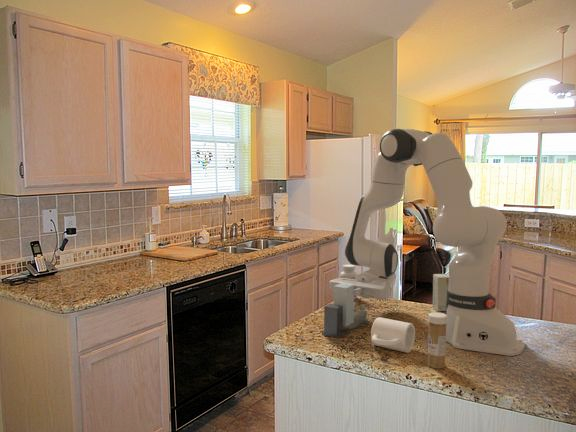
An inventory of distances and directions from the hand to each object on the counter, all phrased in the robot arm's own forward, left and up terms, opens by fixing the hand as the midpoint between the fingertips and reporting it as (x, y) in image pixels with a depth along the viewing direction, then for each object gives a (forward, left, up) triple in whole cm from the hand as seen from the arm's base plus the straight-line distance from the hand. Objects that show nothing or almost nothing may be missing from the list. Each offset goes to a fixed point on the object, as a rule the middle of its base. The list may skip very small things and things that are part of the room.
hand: (347, 293), depth 152 cm
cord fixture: (0, +1, -11) cm, 11 cm away
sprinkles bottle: (-33, +14, -11) cm, 37 cm away
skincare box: (-18, -36, -11) cm, 42 cm away
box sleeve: (0, +2, -9) cm, 9 cm away
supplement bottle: (+16, -30, -11) cm, 36 cm away
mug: (-19, +10, -11) cm, 24 cm away
